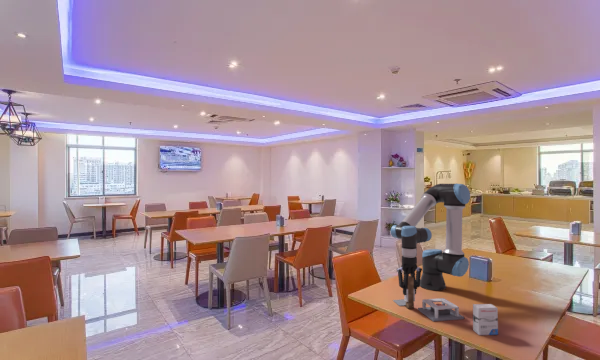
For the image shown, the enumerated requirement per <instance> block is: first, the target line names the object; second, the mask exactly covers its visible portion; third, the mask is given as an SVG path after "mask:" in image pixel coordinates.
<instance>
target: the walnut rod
mask: <svg viewBox="0 0 600 360" xmlns="http://www.w3.org/2000/svg"><path fill="white" fill-rule="evenodd" d="M407 289H408V302H406V306H405V307H406V309H408V310H409V309H410V310H411V309H412V310H413V309H414V308H415V301H414V278H413V277H411V275H409V276H408V282H407Z"/></svg>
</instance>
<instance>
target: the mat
mask: <svg viewBox="0 0 600 360" xmlns="http://www.w3.org/2000/svg"><path fill="white" fill-rule="evenodd" d="M392 301H393V302H394V303H395V304H396V305H397V306H399V307H406V301H405V300H404V298H403V299H393V300H392Z"/></svg>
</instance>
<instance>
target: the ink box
mask: <svg viewBox="0 0 600 360" xmlns="http://www.w3.org/2000/svg"><path fill="white" fill-rule="evenodd" d="M498 313H499V311H498V307H496V306H495V305H494V304H492V303H476V304H475V303H472V329H473V330H472V331H473V332H475V333H476V334H477V335H478V336H495V335H499V317H498V315H499V314H498Z"/></svg>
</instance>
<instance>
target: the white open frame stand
mask: <svg viewBox="0 0 600 360" xmlns="http://www.w3.org/2000/svg"><path fill="white" fill-rule="evenodd" d="M421 302H422V307H417V311H419V312H420V313H421V314H423V315H424V316H425V317H427V318H428V319H429V320H431V321H432V322H442V321H443V322H444V321H455V320H456V321H458V320H464V319H465V316H464V315H461V314H460V308H459V306H458V305H456V304H455V303H453V302H451V301H450V300H447V299H446V298H444V297H442V298H441V297H439V298H438V297H437V298H428V299H427V298H424V299H422V301H421ZM437 303H441V304H443V306H437V305H436V304H437ZM427 305H428V307H427ZM442 309H444V310H442Z"/></svg>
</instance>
